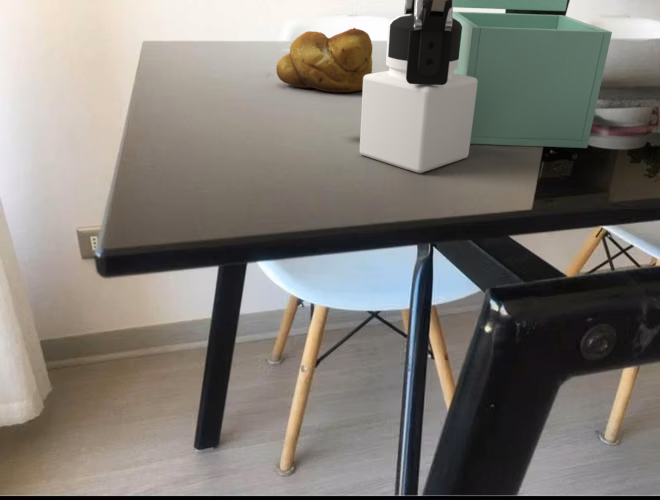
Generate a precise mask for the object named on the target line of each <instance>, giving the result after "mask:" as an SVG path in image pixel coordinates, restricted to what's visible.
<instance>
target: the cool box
mask: <svg viewBox="0 0 660 500" xmlns="http://www.w3.org/2000/svg"><path fill="white" fill-rule="evenodd" d="M453 18H454V19H455V20H457V21H459V22H460V24H461V25H462V34H461V43H460V52H459V61H458V68H457V69H455V70H454V72H453V73H454V74H460V75H465V76H470V77H474V78H476V79H477V81H478V84H477V91H476V99H475V107H474V115H473V123H472V131H471V139H470V145H492V146H495V145H496V146H520V147H521V146H522V147H545V148H572V149H573V148H575V149H588V147H589V142H590V136H591V132H592V127H593V123H594V120H595V119H594V118H595V114H596V109H597V104H598V100H599V96H600V90H601V85H602V81H603V75H604V73H605V72H604V71H605V67H606V62H607V57H608V53H609V48H610V43H611V39H612V35H613V32H612V31H611V30H608V29H604V28H601V27H599V26H596V25H593V24H591V23H587V22H584V21H581V20H578V19H575V18H572V17H569V16H567V15H566V16H564V15H540V14H510V13H505V12H476V11H475V12H474V11H453Z"/></svg>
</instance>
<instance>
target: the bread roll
mask: <svg viewBox="0 0 660 500" xmlns="http://www.w3.org/2000/svg"><path fill="white" fill-rule="evenodd" d="M275 69H276V70H275V71H276V75H277V77H278V79H279V80H280V81H281V82H283V83H285V84H287V85H288V86H289V85H290V86H293V87H297V88H303V89H305V88H308V89H310V88H313V89H317V90H319V91H323V92H327V93H354V92H358V91H361V90H363V77H364V76H365V75H367V74H372V72H373V43H372V39H371V37H370V35H369V33H367V31H365V30H364V29H363V30H362V29H359V28H355V27H353V28H349V29H347V30H345V31H343V32H339V33H336V34H334V35H333V36H331V37H327V36H326V34H325V33H323V32H319V31H317V30H316V31H311V30H309V31H305V32H303V33H302V34H299V36H297V37H296V38H295V39H294V40H293V41H292V43H291V44H290V47H289V53H287V54H285V55H284V56H282V57H281V58H280V59H279V60H278V61H277V63H276V68H275Z"/></svg>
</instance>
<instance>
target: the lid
mask: <svg viewBox="0 0 660 500" xmlns="http://www.w3.org/2000/svg"><path fill="white" fill-rule="evenodd" d="M566 5H567V0H453V8H459V9H486V10H487V9H492V10H505V9H515V10H545V11H566Z"/></svg>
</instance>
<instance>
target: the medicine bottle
mask: <svg viewBox="0 0 660 500" xmlns="http://www.w3.org/2000/svg"><path fill="white" fill-rule="evenodd" d="M410 30H414V14H404V13H403V14H400V15H398V16H396V17H393V18H391V20H390V21H389V22H388V25H387V39H386V40H387V41H386V54H385V55H386V57H385V65H386V66H387V67H389V69H388V70H384V71H377V72H373V73H372V74H367V75H365V76H364V77H363V89H362V93H361V113H360V114H361V117H360V135H359V154H360V155H361V156H363V157H366V158H370V159H372V160H376V161H379V162H382V163H385V164H388V165H392V166H395V167H398V168H401V169H404V170H407V171H411V172H413V173H417V174H423V173H426V172H429V171H432V170H434V169H438V168H441V167H444V166H446V165H450V164H453V163H457V162H459V161H461V160H465V159H467V158H468V157H469V153H470V146H471V144H470V139H471V131H472V123H473V115H474V107H475V99H476V91H477V84H478V81H477V79H476V78H474V77H470V76H465V75H460V74H454V73H453V72H454V70H455V69H457V68H458V61H459V52H460V43H461V34H462V25H461V24H460V22H459V21H457V20H455V19H454V18H453V20H452V29H451V31H452V32H453V34H452V43H451V52H450V61H449V71H448V80H447V83H446V84H444V85H424V84H409V83H408V82H407V80H406V71H407V59H408V47H409V34H410Z"/></svg>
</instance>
